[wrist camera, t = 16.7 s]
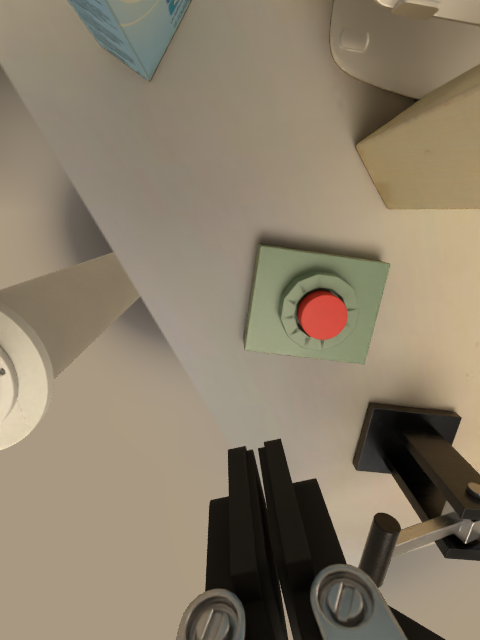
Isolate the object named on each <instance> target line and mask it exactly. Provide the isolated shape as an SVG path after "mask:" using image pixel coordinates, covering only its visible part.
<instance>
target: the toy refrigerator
mask: <svg viewBox="0 0 480 640" xmlns="http://www.w3.org/2000/svg"><path fill="white" fill-rule="evenodd" d="M356 149H357V151H358V153H359V155H360V157H361V159H362V161H363V162H364V164H365V166H366V168H367V170H368V172H369V174H370V176H371V178H372V180H373V182H374V184H375V186H376V188H377V189H378V191H379V193H380V195H381V197H382V199H383V201H384V203H385V205H386V207H387V208H388V209H480V64H478V65H476V66H475V67H473V68H471V69H469V70H468V71H466V72H464V73H463V74H461V75H459V76H457V77H456V78H454V79H452V80H451V81H449V82H447V83H445V84H444V85H442V86H440V87H438V88H437V89H435V90H433V91H432V92H430V93H429V94H427V95H426V96H425V97H423V98H422V99H420V100H419V101H417V102H416V103H414V104H413V105H412V106H410V107H409V108H407V109H406V110H405V111H403V112H402V113H400V114H399V115H397V116H396V117H395V118H393V119H392V120H390V121H389V122H387V123H386V124H385V125H383V126H382V127H380V128H379V129H378V130H376V131H375V132H373V133H372V134H370V135H369V136H368V137H366V138H365V139H363V140H362V141H361V142H359V143H358V144H357V146H356Z"/></svg>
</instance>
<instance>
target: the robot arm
mask: <svg viewBox="0 0 480 640" xmlns="http://www.w3.org/2000/svg"><path fill="white" fill-rule="evenodd" d="M17 396H18V379H17V374H16V371H15V368H14V366H13V363H12V362H11V360H10V358H9V357H8V355H7V353H6V352H5V351H4V350H3V349H2V348H1V347H0V423H1V422H2V421H3V420H4V419H5V418H6V417H7V416H8V415H9V414H10V412H11V411H12V409H13V407H14V405H15V403H16V400H17ZM264 446H265V447H262V448H258V451H259V458H260V465H261V471H262V478H263V484H264V491H265V498H266V503H265V498H264V494H263V490H262V486H261V481H260V477H259V473H258V469H257V464H256V460H255V456H254V452H253V450H248V451H247V450H246V447H245V446H243V447H238V448H234V449H229V450H228V474H229V475H228V476H229V496H228V497H223V498H219V499H214V500H211V501H210V505H209V525H208V526H209V527H208V548H207V567H206V589H205V592H204V593H202V594H200V595H199V596H198V597H197V598H195V599H194V600H193V601H192V602H191V603H190V605H189V606H188V607H187V609H186V611H185V612H184V614H183V617H182V619H181V622H180V625H179V629H178V633H177V638H176V640H288V636H287V629H286V623H285V616H284V610H283V603H282V597H281V590H280V585H281V589H282V593H283V598H284V602H285V606H286V610H287V614H288V618H289V623H290V627H291V631H292V635H293V639H294V640H445V639H443V638H442V637H440V636H439V635H437V634H435V633H434V632H432V631H430V630H428V629H427V628H425V627H424V626H422V625H420V624H419V623H417V622H415V621H414V620H412V619H410V618H409V617H407V616H405V615H404V614H402V613H400V612H399V611H397V610H395V609H393V608H392V607H390V606H389V605H387V603H386V601H385V599H384V598H383V596H382V594H381V593H380V591H379V589H378V587H377V586H376V584H375V583H374V582H373V580H372V579H371V578H370V576H369V575H367V574H366V573H365V572H363V571H362V570H361V569H359V568H357V567H354V566H352V565H347V563H346V561H345V558H344V555H343V552H342V549H341V547H340V544H339V541H338V538H337V535H336V532H335V530H334V527H333V524H332V521H331V518H330V516H329V513H328V510H327V507H326V504H325V501H324V499H323V496H322V493H321V490H320V487H319V485H318V482H317V480H316V478H315V479H310V480H305V481H301V482H296V483H292V480H291V477H290V473H289V469H288V465H287V461H286V457H285V453H284V449H283V446H282V442H281V439H277V440H272V441H267V442H264ZM266 504H267V507H266ZM279 581H280V583H279Z"/></svg>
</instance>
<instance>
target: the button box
mask: <svg viewBox="0 0 480 640" xmlns="http://www.w3.org/2000/svg"><path fill="white" fill-rule="evenodd" d="M389 267H390V264H389V263H385V262H382V261H377V260H370V259H363V258H356V257H349V256H342V255H335V254H328V253H321V252H314V251H307V250H299V249H292V248H285V247H278V246H271V245H264V244H258V251H257V257H256V264H255V270H254V277H253V283H252V290H251V297H250V303H249V310H248V316H247V323H246V329H245V336H244V349H245V350H247V351H255V352H264V353H272V354H281V355H289V356H298V357H306V358H315V359H323V360H332V361H341V362H349V363H358V364H365V360H366V356H367V352H368V348H369V344H370V340H371V337H372V333H373V329H374V325H375V321H376V317H377V313H378V310H379V306H380V302H381V298H382V294H383V290H384V286H385V283H386V279H387V275H388V271H389ZM315 291H327V292H330V293H332V294H333V295H335V296H336V297H338V298H339V299H340V300H341V301H342V302H343V303H344V304H345V306H346V309H347V313H348V318H347V322H346V325H345V327H344V329H343V330H342V331H341V332H340V333H339V334H338V335H336V336H335V337H333V338H330V339H326V340H319V339H315V338H313V337H311V336H309V335H308V334H307V333H306V332H305V330H304V329H303V328H302V326H301V325H300V323H299V320H298V316H297V312H298V307H299V305H300V303H301V301H302V300H303V299H304V298H305V297H306V296H307V295H308V294H310V293H312V292H315Z"/></svg>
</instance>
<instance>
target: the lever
mask: <svg viewBox="0 0 480 640" xmlns="http://www.w3.org/2000/svg"><path fill="white" fill-rule="evenodd" d="M451 534H455V535H456V536H457V537H458V538H459V539H460V540H461V541H462V542H463V543H465V544H466V543H469V542H471V541H473V540H476V539H478V538H480V520H471V519H461V518H460V517H459V516H458V514H457V513H456V512H455V510H454V509H453V508H452V507H451V505H450V504H449V503H448V501H447V500H446V503H445V506H444V508H443V511H442V514H441V516H439V517H436V518H433V519H431V520H428V521H425V522H422V523H419V524H416V525H413V526H411V527H408V528H405V529H402V530H401V527H400V524H399V523H398V521H397V520H396V519H395V518H393V517H392V516H390V515H388V514H386V513H377V514H376V515H375V516H374V518H373V521H372V525H371V528H370V531H369V534H368V538H367V541H366V544H365V547H364V551H363V554H362V557H361V560H360V564H359V567H358V568H359V569H361V570H362V571H363V572H365V573H366V574H367V575H369V576H370V578H371V579H372V580H373V582H374V583H375V584H376V586H377V587H378V588H379V587H380V586H382V584H383V581H384V578H385V575H386V572H387V570H388V566H389V564H390V561H391V558H392V557H395V556H397V555H400V554H403V553H405V552H408V551H410V550H413V549H415V548H418V547H420V546H423V545H425V544H428V543H431V542H433V541H436V540H438V539H441V538H443V537H446V536H448V535H451Z"/></svg>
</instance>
